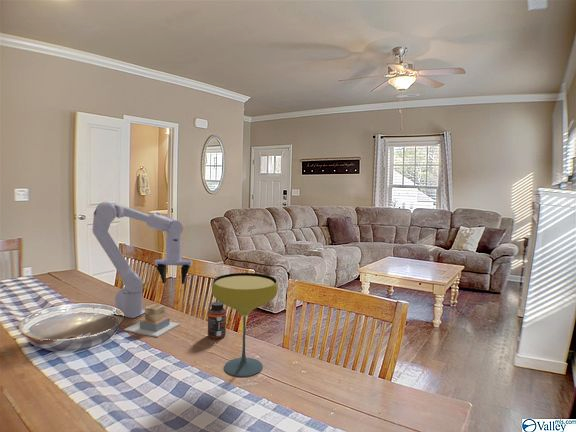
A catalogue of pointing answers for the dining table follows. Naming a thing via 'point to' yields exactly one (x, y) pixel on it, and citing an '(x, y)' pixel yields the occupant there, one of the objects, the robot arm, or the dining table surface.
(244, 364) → the cocktail glass
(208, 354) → the dining table surface
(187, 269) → the robot arm
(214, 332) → the supplement bottle
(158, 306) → the maple block
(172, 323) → the base
